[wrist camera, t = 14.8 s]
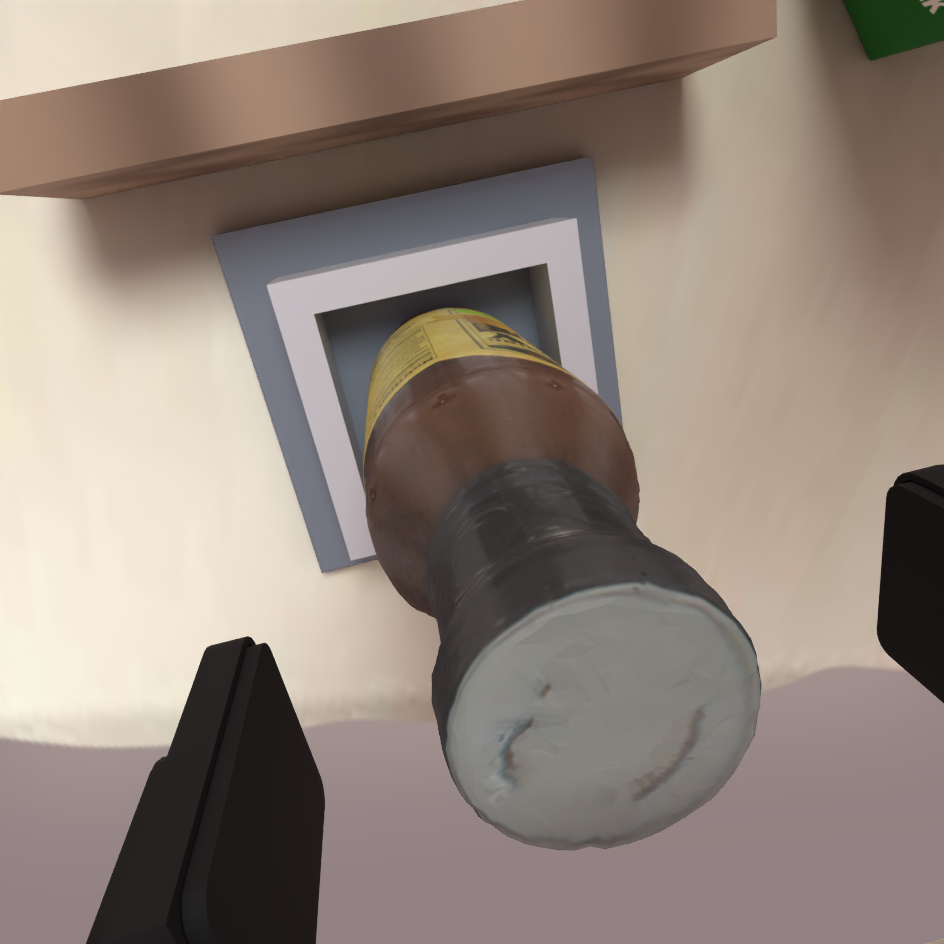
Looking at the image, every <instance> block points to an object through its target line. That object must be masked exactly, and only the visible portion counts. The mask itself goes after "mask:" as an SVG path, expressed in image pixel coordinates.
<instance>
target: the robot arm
mask: <svg viewBox="0 0 944 944" xmlns="http://www.w3.org/2000/svg"><path fill="white" fill-rule="evenodd" d="M877 635H878V639H879V642H880V644H881V646H882V647H883V649H884V650H885V652H886V653H887V654H888V655H889V656H890V657H891V658H892V659H893V660H895V661H896V662H897V663H898V664H899V665H900V666H902V667H903V668H904V669H905V670H906V671H907V672H908V673H910V674H911V675H912V676H913V677H914V678H915V679H917V680H918V681H919V682H920V683H921V684H922V685H923V686H925V687H926V688H927V689H928V690H929V691H930V692H931V693H933V694H934V695H935V696H936V697H937V698H939V699H940V700H941V701H942V702H943V703H944V465H935V466H931V467H927V468H923V469H919V470H915V471H911V472H907V473H903V474H901V475H900V476H898V478H897V479H896V481H895V483H894V486H893V487H891V488H890V489H889V491H888V492H887V497H886V509H885V523H884V537H883V551H882V565H881V579H880V593H879V606H878V620H877ZM324 810H325V797H324V789H323V784H322V780H321V777H320V774H319V772H318V769H317V766H316V764H315V761H314V759H313V756H312V754H311V751H310V748H309V746H308V743H307V741H306V738H305V736H304V733H303V731H302V728H301V725H300V723H299V720H298V718H297V715H296V713H295V710H294V708H293V705H292V703H291V700H290V697H289V695H288V692H287V690H286V687H285V685H284V682H283V680H282V677H281V675H280V672H279V669H278V667H277V664H276V662H275V659H274V657H273V654H272V652H271V649H270V647H269V646H268V645H267V644H266V643H262V644H258V645H256V644H255V642H254V640H253V639H252V638H251V637H248V636H247V637H243V638H239V639H235V640H231V641H227V642H223V643H219V644H215V645H211V646H209V647H207V648H206V650H205V652H204V654H203V657H202V660H201V662H200V665H199V668H198V671H197V674H196V677H195V679H194V682H193V685H192V688H191V691H190V693H189V696H188V699H187V702H186V705H185V707H184V710H183V713H182V716H181V719H180V721H179V724H178V727H177V730H176V733H175V736H174V738H173V741H172V744H171V747H170V750H169V752H168V755H167V756H166V757H162V758H161V759H160V760H158V761H157V762H156V763H155V765H154V767H153V769H152V770H151V772H150V774H149V778H148V780H147V782H146V785H145V788H144V791H143V793H142V796H141V798H140V801H139V804H138V806H137V809H136V812H135V815H134V817H133V820H132V822H131V825H130V828H129V831H128V833H127V836H126V839H125V841H124V844H123V846H122V849H121V852H120V854H119V857H118V860H117V862H116V865H115V868H114V870H113V873H112V876H111V878H110V881H109V884H108V886H107V889H106V892H105V895H104V897H103V900H102V902H101V905H100V908H99V910H98V913H97V916H96V918H95V921H94V924H93V927H92V929H91V932H90V935H89V937H88V940H87V942H86V944H316V930H317V915H318V900H319V885H320V870H321V855H322V840H323V824H324ZM927 944H944V938H943V939H940V940H937V941H933V942H930V943H927Z"/></svg>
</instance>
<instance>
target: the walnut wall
mask: <svg viewBox="0 0 944 944" xmlns="http://www.w3.org/2000/svg"><path fill="white" fill-rule="evenodd" d="M775 37H777V30H776V0H524V1H519V2H513V3H508V4H503V5H498V6H492V7H487V8H482V9H477V10H471V11H466V12H461V13H456V14H450V15H445V16H440V17H435V18H429V19H424V20H419V21H414V22H408V23H403V24H398V25H393V26H387V27H382V28H377V29H372V30H366V31H361V32H356V33H351V34H345V35H340V36H335V37H330V38H325V39H319V40H314V41H309V42H304V43H298V44H293V45H288V46H283V47H277V48H272V49H267V50H262V51H256V52H251V53H246V54H241V55H235V56H230V57H225V58H220V59H214V60H209V61H204V62H199V63H193V64H188V65H183V66H178V67H172V68H167V69H162V70H157V71H151V72H146V73H141V74H136V75H130V76H125V77H120V78H115V79H109V80H104V81H99V82H94V83H88V84H83V85H78V86H73V87H68V88H62V89H57V90H52V91H47V92H41V93H36V94H31V95H26V96H20V97H15V98H10V99H5V100H0V195H16V196H34V197H51V198H68V199H85V198H90V197H95V196H99V195H104V194H109V193H114V192H119V191H124V190H129V189H134V188H139V187H144V186H149V185H154V184H159V183H164V182H169V181H173V180H178V179H183V178H188V177H193V176H198V175H203V174H208V173H213V172H218V171H223V170H228V169H233V168H238V167H243V166H247V165H252V164H257V163H262V162H267V161H272V160H277V159H282V158H287V157H292V156H297V155H302V154H307V153H312V152H316V151H321V150H326V149H331V148H336V147H341V146H346V145H351V144H356V143H361V142H366V141H371V140H376V139H381V138H386V137H390V136H395V135H400V134H405V133H410V132H415V131H420V130H425V129H430V128H435V127H440V126H445V125H450V124H455V123H460V122H464V121H469V120H474V119H479V118H484V117H489V116H494V115H499V114H504V113H509V112H514V111H519V110H524V109H529V108H533V107H538V106H543V105H548V104H553V103H558V102H563V101H568V100H573V99H578V98H583V97H588V96H593V95H598V94H603V93H607V92H612V91H617V90H622V89H627V88H632V87H637V86H642V85H647V84H652V83H657V82H662V81H667V80H672V79H677V78H681V77H684V76H687V75H689V74H691V73H694V72H696V71H698V70H701V69H703V68H705V67H708V66H710V65H712V64H715V63H717V62H719V61H722V60H724V59H726V58H728V57H731V56H733V55H735V54H738V53H740V52H742V51H745V50H747V49H749V48H752V47H754V46H756V45H759V44H761V43H763V42H766V41H768V40H770V39H773V38H775Z"/></svg>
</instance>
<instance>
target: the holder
mask: <svg viewBox="0 0 944 944" xmlns="http://www.w3.org/2000/svg"><path fill="white" fill-rule="evenodd" d="M211 237H212V240H213V243H214V246H215V249H216V252H217V255H218V258H219V261H220V264H221V267H222V270H223V273H224V276H225V280H226V283H227V286H228V289H229V292H230V295H231V298H232V301H233V304H234V307H235V310H236V313H237V316H238V319H239V322H240V325H241V328H242V331H243V334H244V337H245V340H246V343H247V346H248V350H249V353H250V356H251V359H252V362H253V365H254V368H255V371H256V374H257V377H258V380H259V383H260V386H261V389H262V392H263V395H264V398H265V401H266V404H267V407H268V410H269V413H270V416H271V420H272V423H273V426H274V429H275V432H276V435H277V438H278V441H279V444H280V447H281V450H282V453H283V456H284V459H285V462H286V465H287V468H288V471H289V474H290V477H291V480H292V483H293V487H294V490H295V493H296V496H297V499H298V502H299V505H300V508H301V511H302V514H303V517H304V520H305V523H306V526H307V529H308V532H309V535H310V538H311V541H312V544H313V547H314V550H315V553H316V557H317V560H318V563H319V566H320V569H321V572H322V573H324V572H328V571H332V570H336V569H340V568H344V567H348V566H352V565H356V564H360V563H364V562H368V561H372V560H376V559H378V556H377V554H376V552H375V549H374V546H373V543H372V539H371V536H370V532H369V529H368V524H367V517H366V494H365V487H364V481H363V464H364V448H365V430H366V417H367V406H368V393H369V382H370V376H371V371H372V368H373V365H374V362H375V360H376V357H377V355H378V353H379V351H380V349H381V348H382V347H383V345H384V343H385V342H386V340H387V338H388V337H389V336H390V335H391V334H392V333H393V332H394V330H395V329H396V328H397V327H398V326H399V325H400V324H401V323H402V322H403V321H404V320H406V319H407V318H409V317H410V316H412V315H414V314H417V313H419V312H425V311H428V310H433V309H437V308H446V307H459V308H463V307H466V308H470V309H474V310H477V311H480V312H483V313H486V314H488V315H490V316H492V317H494V318H496V319H498V320H499V321H501V322H502V323H504V324H505V325H507V326H508V327H509V328H511V329H512V330H513V331H515V332H516V333H517V334H519V335H520V336H521V337H523V338H524V339H525V340H527V341H529V342H531V343H532V344H533V345H534V346H535V347H536V348H538V349H540V350H541V351H542V352H544V353H545V354H546V355H547V356H549V357H550V358H551V359H552V360H554V361H555V362H556V363H558V364H559V365H560V366H562V367H563V368H564V369H566V370H567V371H568V372H570V373H571V374H573V375H574V376H575V377H577V378H578V379H580V380H581V381H582V382H584V383H585V384H586V385H587V386H588V387H590V388H591V389H592V390H593V391H595V392H596V393H597V394H598V395H599V396H600V397H601V398H602V400H603V401H604V402H605V403H606V404H607V405H608V406H609V407H610V408H611V410H612V411H613V413H614V414H615V416H616V417H617V419H618V420H619V422H620V424H621V426H622V428H623V425H622V416H621V407H620V398H619V389H618V380H617V371H616V362H615V353H614V344H613V335H612V326H611V317H610V308H609V299H608V290H607V281H606V272H605V263H604V254H603V245H602V236H601V226H600V217H599V208H598V199H597V190H596V181H595V172H594V163H593V156H590V157H585V158H580V159H576V160H571V161H566V162H561V163H557V164H552V165H547V166H542V167H537V168H533V169H528V170H523V171H518V172H514V173H509V174H504V175H499V176H495V177H490V178H485V179H480V180H475V181H471V182H466V183H461V184H456V185H452V186H447V187H442V188H437V189H432V190H428V191H423V192H418V193H413V194H409V195H404V196H399V197H394V198H390V199H385V200H380V201H375V202H370V203H366V204H361V205H356V206H351V207H347V208H342V209H337V210H332V211H327V212H323V213H318V214H313V215H308V216H304V217H299V218H294V219H289V220H285V221H280V222H275V223H270V224H265V225H261V226H256V227H251V228H246V229H242V230H237V231H232V232H227V233H222V234H218V235H213V236H211Z"/></svg>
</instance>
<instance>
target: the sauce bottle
mask: <svg viewBox="0 0 944 944" xmlns="http://www.w3.org/2000/svg"><path fill="white" fill-rule="evenodd" d="M363 481H364V487H365V494H366V517H367V524H368V529H369V532H370V536H371V539H372V543H373V546H374V549H375V552H376V554H377V556H378V560H379V562H380V564H381V566H382V568H383V569H384V571H385V573H386V574H387V576H388V577H389V579H390V581H391V582H392V584H393V586H394V587H395V588H396V590H397V591H398V593H399V594H400V595H401V596H402V597H403V598H404V599H405V600H406V601H407V602H408V603H409V605H411V606H412V607H414V608H415V609H416V610H419V611H421V612H424V613H427V614H428V615H429V616H432V617H434V618H436V619H437V622H438V628H439V634H440V640H441V645H440V647H439V651H438V656H437V660H436V664H435V667H434V670H433V673H432V705H433V709H434V712H435V716H436V719H437V724H438V730H439V735H440V740H441V745H442V750H443V753H444V757H445V760H446V763H447V766H448V768H449V771H450V774H451V777H452V779H453V781H454V783H455V785H456V786H457V788H458V790H459V792H460V794H461V795H462V796H463V798H464V799H465V801H466V802H467V803H468V804H469V805H471V807H473V809H474V810H475V812H476V813H477V815H478V816H479V817H480V818H481V819H482V820H484V821H485V822H486V823H489V824H491V825H493V826H494V827H495V828H497V829H498V830H499V831H501V832H502V833H504V834H505V835H506V836H508V837H510V838H513V839H516V840H518V841H520V842H523V843H525V844H528V845H533V846H538V847H543V848H550V849H556V850H578V849H582V848H585V847H589V846H592V847H597V848H603V849H607V848H611V847H615V846H619V845H624V844H629V843H632V842H635V841H638V840H640V839H643V838H646V837H649V836H651V835H653V834H655V833H658V832H660V831H662V830H664V829H666V828H667V827H669V826H671V825H672V824H674V823H676V822H678V821H679V820H681V819H683V818H684V817H686V816H688V815H689V814H690V813H692V812H693V811H695V810H696V809H698V808H699V807H701V806H702V805H704V804H705V803H707V802H708V801H710V800H711V799H712V798H713V797H714V796H715V795H716V794H717V793H718V792H719V790H720V789H721V788H722V787H723V786H724V785H725V784H726V782H727V781H728V780H729V778H730V777H731V776H732V774H733V773H734V772H735V770H736V769H737V767H738V765H739V763H740V761H741V760H742V758H743V756H744V754H745V752H746V750H747V749H748V747H749V745H750V743H751V741H752V739H753V738H754V736H755V729H756V723H757V716H758V712H759V707H760V696H761V680H760V674H759V667H758V663H757V656H756V652H755V649H754V646H753V643H752V640H751V638H750V637H749V635H748V634H747V632H746V631H745V629H744V628H743V626H742V625H741V624H740V622H739V621H738V620H737V619H736V618H735V617H734V616H733V614H732V613H731V611H730V610H729V608H728V607H727V605H726V604H725V602H724V601H723V599H722V598H721V597H720V596H719V594H718V593H717V592H716V591H715V590H714V589H713V588H711V587H710V586H709V585H708V584H707V583H706V582H705V581H704V580H703V579H702V577H701V576H700V575H699V574H698V573H697V571H696V570H694V569H693V568H692V567H691V566H689V565H688V564H687V563H685V562H684V561H683V560H682V559H680V558H679V557H678V556H676V555H675V554H673V553H671V552H669V551H667V550H665V549H663V548H661V547H659V546H657V545H654V544H652V543H651V541H650V540H649V539H648V538H647V537H646V536H644V535H643V533H642V532H641V531H640V530H639V529H638V527H637V526H636V522H637V517H638V511H639V502H640V500H639V492H640V488H639V483H638V480H637V473H636V467H635V461H634V456H633V452H632V450H631V448H630V446H629V443H628V441H627V439H626V436H625V433H624V431H623V428H622V426H621V424H620V422H619V420H618V419H617V417H616V416H615V414H614V413H613V411H612V410H611V408H610V407H609V406H608V405H607V404H606V403H605V402H604V401H603V400H602V398H601V397H600V396H599V395H598V394H597V393H596V392H595V391H593V390H592V389H591V388H590V387H588V386H587V385H586V384H585V383H584V382H582V381H581V380H580V379H578V378H577V377H575V376H574V375H573V374H571V373H570V372H568V371H567V370H566V369H564V368H563V367H562V366H560V365H559V364H558V363H556V362H555V361H554V360H552V359H551V358H550V357H549V356H547V355H546V354H545V353H544V352H542V351H541V350H540V349H538V348H536V347H535V346H534V345H533V344H532V343H531V342H529V341H527V340H525V339H524V338H523V337H521V336H520V335H519V334H517V333H516V332H515V331H513V330H512V329H511V328H509V327H508V326H507V325H505V324H504V323H502V322H501V321H499V320H498V319H496V318H494V317H492V316H490V315H488V314H486V313H483V312H480V311H477V310H474V309H470V308H466V307H463V308H459V307H446V308H437V309H433V310H428V311H425V312H419V313H417V314H414V315H412V316H410V317H409V318H407V319H406V320H404V321H403V322H402V323H401V324H400V325H399V326H398V327H397V328H396V329H395V330H394V332H393V333H392V334H391V335H390V336H389V337H388V338H387V340H386V342H385V343H384V345H383V347H382V348H381V349H380V351H379V353H378V355H377V357H376V360H375V362H374V365H373V368H372V371H371V376H370V382H369V393H368V406H367V417H366V430H365V448H364V464H363Z"/></svg>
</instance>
